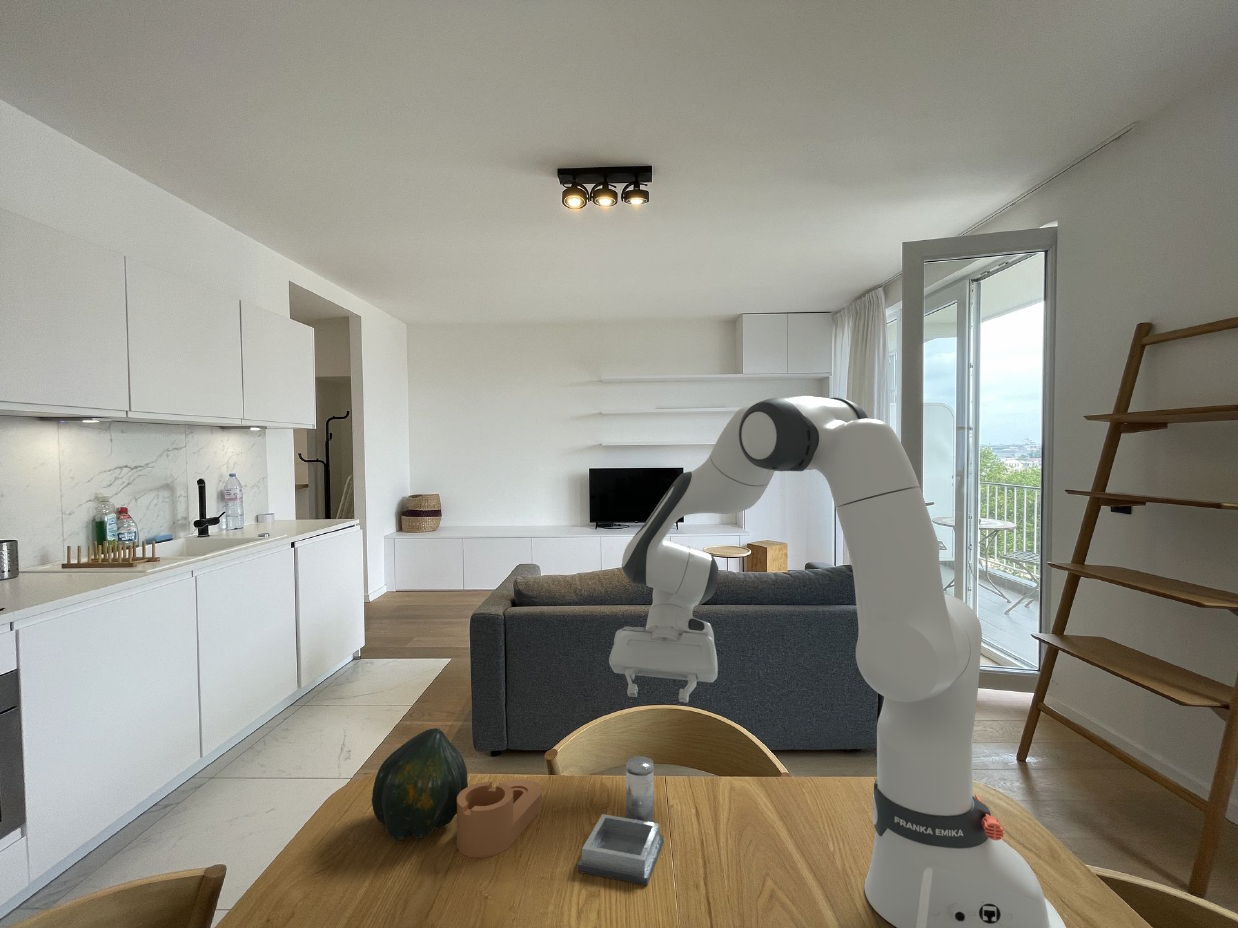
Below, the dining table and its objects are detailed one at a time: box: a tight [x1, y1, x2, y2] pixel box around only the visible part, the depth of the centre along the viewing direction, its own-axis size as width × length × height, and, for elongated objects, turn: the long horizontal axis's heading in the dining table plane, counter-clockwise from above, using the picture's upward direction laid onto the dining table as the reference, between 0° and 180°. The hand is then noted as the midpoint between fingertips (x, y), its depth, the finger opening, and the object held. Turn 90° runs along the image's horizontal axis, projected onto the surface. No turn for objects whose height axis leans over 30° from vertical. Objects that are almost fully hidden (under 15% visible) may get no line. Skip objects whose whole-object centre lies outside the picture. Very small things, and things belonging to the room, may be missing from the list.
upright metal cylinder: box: [625, 755, 655, 823], centre depth 98 cm, size 4×4×9 cm
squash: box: [371, 727, 469, 841], centre depth 98 cm, size 14×15×15 cm
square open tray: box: [576, 813, 665, 886], centre depth 89 cm, size 10×10×3 cm
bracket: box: [456, 778, 543, 859], centre depth 97 cm, size 18×8×7 cm, turn 161°
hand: (657, 697), depth 110 cm, fingers open, 8 cm apart
